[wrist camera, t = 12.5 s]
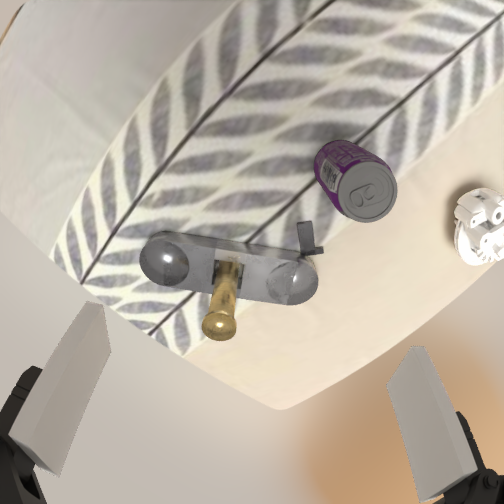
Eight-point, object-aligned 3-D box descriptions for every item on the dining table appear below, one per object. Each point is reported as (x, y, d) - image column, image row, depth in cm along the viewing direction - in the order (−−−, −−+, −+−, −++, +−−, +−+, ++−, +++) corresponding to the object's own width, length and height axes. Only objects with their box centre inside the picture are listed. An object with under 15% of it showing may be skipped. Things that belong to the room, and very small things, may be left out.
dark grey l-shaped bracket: (297, 223, 42) (297, 224, 42) (319, 219, 42) (320, 221, 41) (301, 254, 45) (301, 256, 44) (322, 251, 44) (323, 253, 44)
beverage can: (330, 201, 41) (354, 239, 30) (302, 157, 38) (320, 181, 27) (373, 174, 39) (411, 204, 28) (348, 129, 36) (383, 143, 25)
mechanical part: (446, 259, 44) (482, 300, 34) (434, 196, 40) (478, 229, 29) (493, 233, 42) (533, 267, 31) (486, 171, 37) (534, 196, 26)
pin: (218, 251, 45) (202, 312, 32) (244, 255, 45) (238, 318, 32) (215, 273, 46) (200, 338, 34) (240, 277, 47) (233, 343, 34)
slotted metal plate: (146, 227, 43) (139, 236, 40) (320, 255, 45) (324, 265, 42) (146, 270, 46) (140, 281, 44) (308, 296, 48) (310, 308, 45)
